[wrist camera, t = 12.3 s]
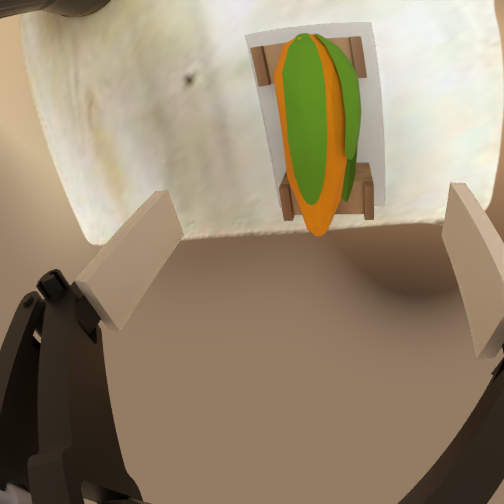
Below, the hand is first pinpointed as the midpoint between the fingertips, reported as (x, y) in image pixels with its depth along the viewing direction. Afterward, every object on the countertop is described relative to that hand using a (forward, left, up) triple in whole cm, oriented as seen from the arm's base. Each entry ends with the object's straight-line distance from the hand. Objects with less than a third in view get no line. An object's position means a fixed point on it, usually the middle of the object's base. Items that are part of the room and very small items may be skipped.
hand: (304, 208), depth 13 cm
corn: (0, -2, -18) cm, 18 cm away
